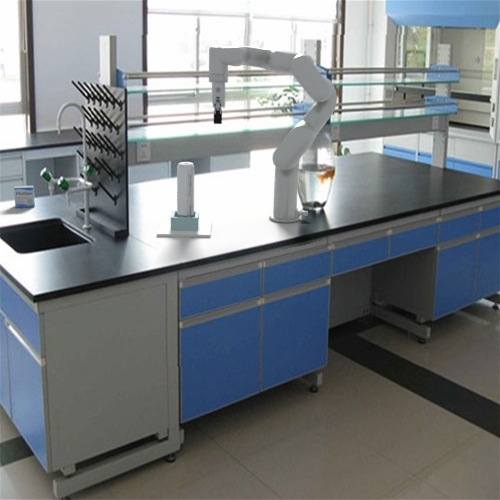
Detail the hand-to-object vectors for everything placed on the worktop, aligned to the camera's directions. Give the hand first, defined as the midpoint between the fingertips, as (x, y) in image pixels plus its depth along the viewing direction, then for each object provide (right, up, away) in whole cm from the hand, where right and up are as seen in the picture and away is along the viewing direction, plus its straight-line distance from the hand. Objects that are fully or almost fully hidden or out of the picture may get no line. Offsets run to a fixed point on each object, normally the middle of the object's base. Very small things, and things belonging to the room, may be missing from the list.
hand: (217, 121), depth 290 cm
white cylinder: (-12, -43, -10) cm, 45 cm away
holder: (-12, -43, -10) cm, 46 cm away
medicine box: (-82, -33, +16) cm, 90 cm away
